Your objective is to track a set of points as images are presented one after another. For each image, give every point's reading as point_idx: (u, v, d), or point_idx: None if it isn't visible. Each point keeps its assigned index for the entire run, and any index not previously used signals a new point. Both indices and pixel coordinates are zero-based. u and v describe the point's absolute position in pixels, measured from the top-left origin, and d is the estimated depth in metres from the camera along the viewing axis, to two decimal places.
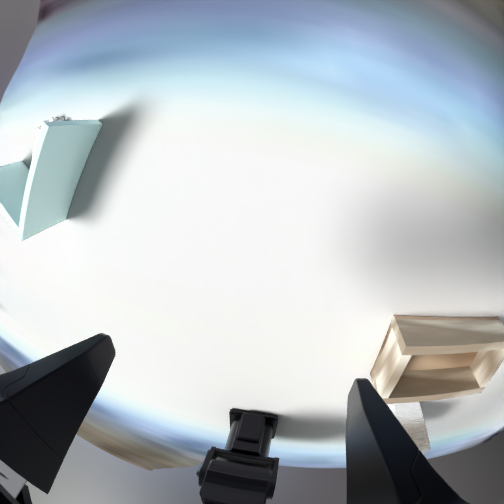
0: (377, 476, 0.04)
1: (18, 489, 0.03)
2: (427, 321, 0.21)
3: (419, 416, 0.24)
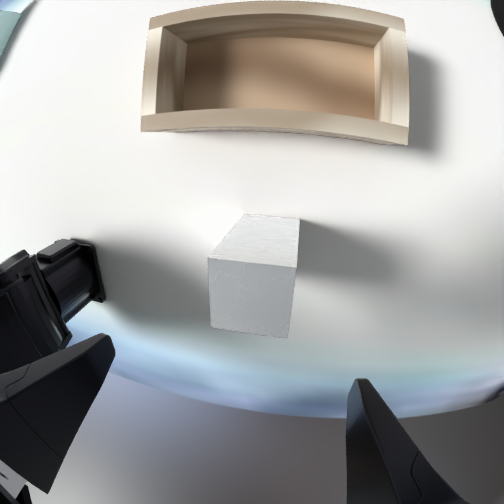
0: (377, 476, 0.04)
1: (18, 489, 0.03)
2: None
3: (290, 229, 0.17)
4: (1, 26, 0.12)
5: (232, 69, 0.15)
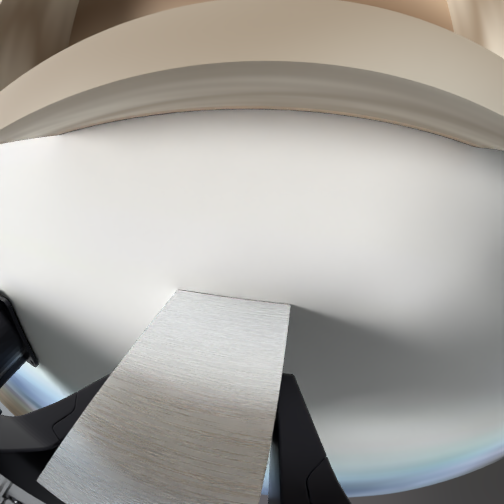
0: (276, 476, 0.04)
1: None
2: None
3: (263, 360, 0.06)
4: None
5: None
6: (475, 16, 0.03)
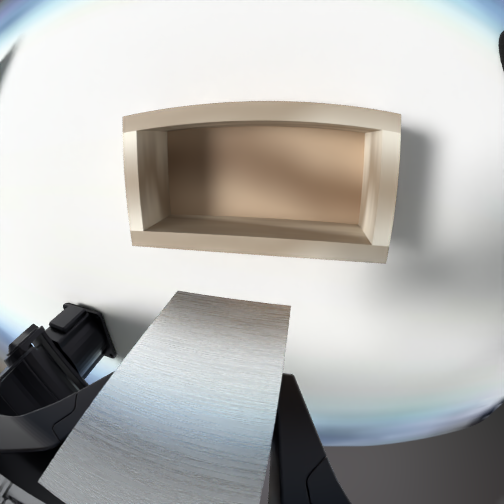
0: (276, 476, 0.04)
1: None
2: None
3: (263, 361, 0.06)
4: None
5: (215, 165, 0.17)
6: (366, 188, 0.15)
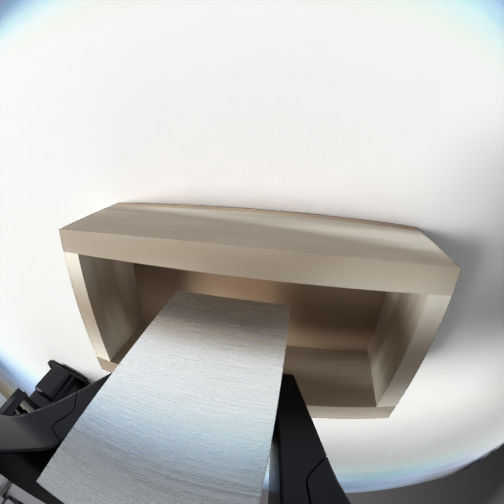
0: (276, 476, 0.04)
1: None
2: (168, 208, 0.12)
3: (263, 360, 0.06)
4: None
5: (191, 278, 0.13)
6: (385, 331, 0.11)
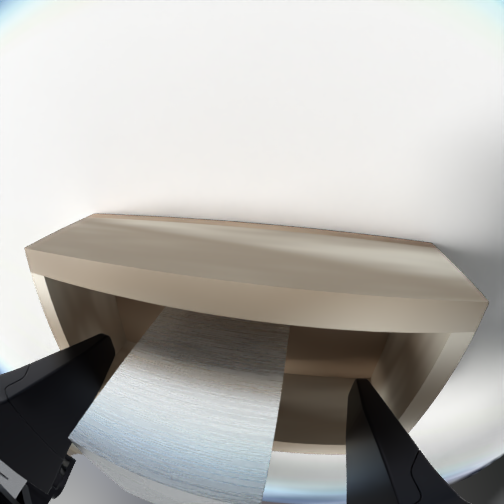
0: (377, 476, 0.04)
1: (18, 489, 0.03)
2: (144, 222, 0.10)
3: (271, 326, 0.08)
4: None
5: None
6: (393, 361, 0.09)
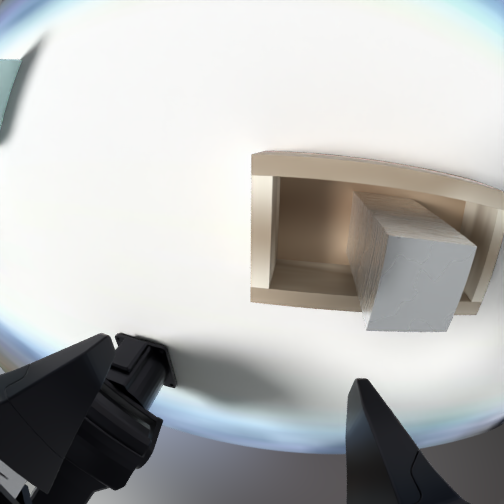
0: (377, 476, 0.04)
1: (18, 489, 0.03)
2: None
3: (420, 208, 0.12)
4: None
5: (335, 213, 0.16)
6: None
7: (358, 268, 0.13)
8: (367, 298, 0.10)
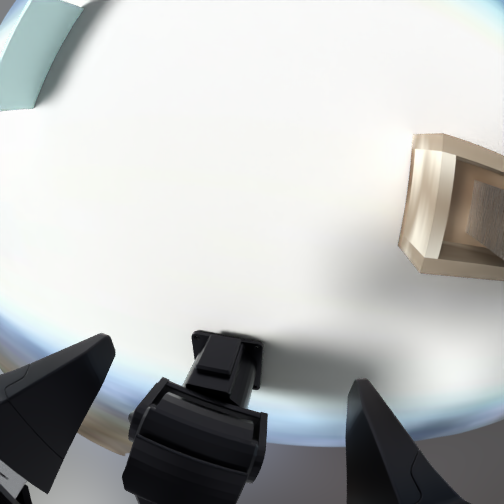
0: (377, 476, 0.04)
1: (18, 489, 0.03)
2: None
3: None
4: (53, 23, 0.12)
5: (461, 197, 0.15)
6: None
7: (499, 239, 0.11)
8: None
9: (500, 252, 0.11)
